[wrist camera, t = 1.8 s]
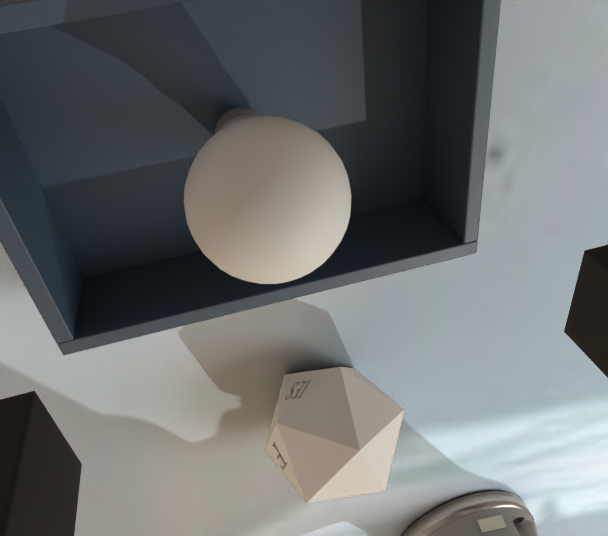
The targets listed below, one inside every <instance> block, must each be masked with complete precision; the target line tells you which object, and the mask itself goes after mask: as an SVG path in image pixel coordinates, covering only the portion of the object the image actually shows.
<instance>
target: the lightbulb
mask: <svg viewBox="0 0 608 536" xmlns="http://www.w3.org/2000/svg"><path fill="white" fill-rule="evenodd" d="M184 208H185V214H186V220H187V224H188V227H189V229H190V232H191V234H192V237H193V238H194V240H195V242H196V243H197V245H198V246H199V248H200V249H201V251H202V252H203V253H204V255H205V256H206V257H207V258H208V259H210V260H211V261H212V262H213V263H214V264H215V265H216V266H217V267H218V268H219V269H221V270H222V271H224V272H226V273H227V274H229V275H231V276H233V277H236V278H239V279H241V280H244V281H248V282H254V283H259V284H278V283H284V282H289V281H292V280H295V279H298V278H301V277H303V276H305V275H307V274H309V273H311V272H312V271H314V270H315V269H317V268H318V267H319V266H321V265H322V264H323V263H324V262H325V261H326V260H327V259H328V258H329V257H330V256H331V255H332V253H333V252H334V251H335V249H336V248H337V246H338V245H339V243H340V242H341V240H342V238H343V236H344V234H345V232H346V230H347V226H348V223H349V219H350V212H351V190H350V184H349V179H348V175H347V172H346V170H345V167H344V165H343V163H342V160H341V159H340V157H339V156H338V155H337V153H336V152H335V150H334V149H333V148H332V146H331V145H330V144H329V142H328V141H327V140H325V139H324V138H323V137H322V136H321V135H320V134H319V133H318V132H316V131H314V130H312V129H311V128H309V127H307V126H305V125H304V124H301V123H299V122H296V121H293V120H290V119H287V118H284V117H276V116H261V115H260V114H259V113H258V112H257V111H255V110H253V109H251V108H248V107H242V106H241V107H234V108H231V109H229V110H227V111H226V112H224V113H223V114H222V115H221V116H220V118H219V119H218V121H217V123H216V126H215V135H214V136H212V137H211V138H210V139H209V140H208V141H207V142H206V143H205V145H204V146H203V147H202V148H201V149H200V151H199V152H198V154H197V156H196V158H195V159H194V161H193V163H192V165H191V168H190V170H189V173H188V176H187V180H186V183H185V189H184Z"/></svg>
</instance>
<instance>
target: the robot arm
mask: <svg viewBox="0 0 608 536" xmlns="http://www.w3.org/2000/svg"><path fill="white" fill-rule="evenodd" d="M564 332H565V333H566V334H567V335H568V336H569V337H570V338H571V339H572V340H573V341H574V342H575V343H576V345H577V346H578V347H579V348H580V349H581V350H582V351H583V352H584V353H585V354H586V355H587V356H588V357H589V358H590V359H591V360H592V361H593V362H594V364H595V365H596V366H597V367H598V368H599V369H600V370H601V371H602V372H603V373H604V374H605V375H606V376H607V377H608V245H605V246H601V247H597V248H594V249H590V250H586V251H584V255H583V259H582V263H581V267H580V271H579V275H578V279H577V283H576V287H575V291H574V295H573V299H572V303H571V307H570V311H569V315H568V318H567V322H566V326H565V330H564ZM81 465H82V464H81V462H80V461H79V459H78V458H77V456H76V455H75V453H74V452H73V450H72V448H71V447H70V445H69V444H68V442H67V441H66V439H65V438H64V436H63V434H62V433H61V431H60V430H59V428H58V427H57V425H56V423H55V422H54V420H53V419H52V417H51V416H50V414H49V413H48V411H47V409H46V408H45V406H44V405H43V403H42V402H41V400H40V399H39V397H38V395H37V394H36V392H35V391H33V392H29V393H25V394H21V395H17V396H13V397H9V398H5V399H1V400H0V536H74V531H75V521H76V512H77V502H78V493H79V484H80V474H81ZM402 536H538V533H537V530H536V526H535V523H534V519H533V516H532V515H531V513H530V512H529V510H528V508H527V507H526V505H525V504H524V502H523V500H522V499H521V498H520V497H519V496H517V495H515V494H513V493H509V492H504V491H488V492H480V493H475V494H471V495H467V496H464V497H461V498H458V499H455V500H453V501H450V502H448V503H446V504H444V505H442V506H440V507H438V508H436V509H434V510H432V511H431V512H429V513H427V514H426V515H424V516H423V517H422V518H420V519H419V520H418V521H416V522H415V523H414V524H413V525H412V526H411V527H409V528H408V529H407V530H406V532H405V533H404V534H403V535H402Z"/></svg>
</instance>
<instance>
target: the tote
mask: <svg viewBox="0 0 608 536" xmlns="http://www.w3.org/2000/svg"><path fill="white" fill-rule="evenodd" d="M500 2H501V0H0V241H1V243H2V245H3V247H4V249H5V250H6V252H7V254H8V256H9V258H10V260H11V261H12V263H13V265H14V267H15V269H16V270H17V272H18V274H19V276H20V278H21V280H22V281H23V283H24V285H25V287H26V289H27V290H28V292H29V294H30V296H31V298H32V299H33V301H34V303H35V305H36V307H37V309H38V310H39V312H40V314H41V316H42V318H43V319H44V321H45V323H46V325H47V327H48V328H49V330H50V332H51V334H52V336H53V338H54V339H55V341H56V343H57V344H58V346H59V348H60V350H61V352H62V353H63V355H67V354H71V353H75V352H79V351H83V350H87V349H91V348H95V347H99V346H103V345H107V344H111V343H115V342H119V341H123V340H127V339H131V338H135V337H139V336H143V335H147V334H151V333H155V332H160V331H164V330H168V329H172V328H176V327H180V326H184V325H188V324H192V323H196V322H200V321H204V320H208V319H212V318H216V317H220V316H224V315H228V314H232V313H236V312H240V311H244V310H248V309H252V308H256V307H260V306H264V305H268V304H272V303H276V302H280V301H284V300H288V299H292V298H296V297H301V296H305V295H309V294H313V293H317V292H321V291H325V290H329V289H333V288H337V287H341V286H345V285H349V284H353V283H357V282H361V281H365V280H369V279H373V278H377V277H381V276H385V275H389V274H393V273H397V272H401V271H405V270H409V269H413V268H417V267H421V266H425V265H429V264H433V263H437V262H442V261H446V260H450V259H454V258H458V257H462V256H466V255H470V254H474V253H476V252H477V239H478V231H479V221H480V210H481V200H482V189H483V179H484V169H485V158H486V148H487V137H488V127H489V117H490V106H491V96H492V86H493V75H494V65H495V54H496V44H497V34H498V23H499V13H500ZM241 106H242V107H248V108H251V109H253V110H255V111H257V112H258V113H259V114H260V115H261V116H276V117H284V118H287V119H290V120H293V121H296V122H299V123H301V124H304V125H305V126H307V127H309V128H311V129H312V130H314V131H316V132H318V133H319V134H320V135H321V136H322V137H323V138H324V139H325V140H327V141H328V142H329V144H330V145H331V146H332V148H333V149H334V150H335V152H336V153H337V155H338V156H339V157H340V159H341V160H342V163H343V165H344V167H345V170H346V172H347V175H348V179H349V184H350V190H351V212H350V219H349V223H348V226H347V230H346V232H345V234H344V236H343V238H342V240H341V242H340V243H339V245H338V246H337V248H336V249H335V251H334V252H333V253H332V255H331V256H330V257H329V258H328V259H327V260H326V261H325V262H324V263H323V264H322V265H321V266H319V267H318V268H317V269H315V270H314V271H312V272H311V273H309V274H307V275H305V276H303V277H301V278H298V279H295V280H292V281H289V282H284V283H278V284H259V283H254V282H248V281H244V280H241V279H239V278H236V277H233V276H231V275H229V274H227V273H226V272H224V271H222V270H221V269H219V268H218V267H217V266H216V265H215V264H214V263H213V262H212V261H211V260H210V259H208V258H207V257H206V256H205V255H204V253H203V252H202V251H201V249H200V248H199V246H198V245H197V243H196V242H195V240H194V238H193V237H192V234H191V232H190V229H189V227H188V224H187V220H186V214H185V208H184V189H185V183H186V180H187V176H188V173H189V170H190V168H191V165H192V163H193V161H194V159H195V158H196V156H197V154H198V152H199V151H200V149H201V148H202V147H203V146H204V145H205V143H206V142H207V141H208V140H209V139H210V138H211V137H212V136H214V135H215V126H216V123H217V121H218V119H219V118H220V116H221V115H222V114H223V113H224V112H226V111H227V110H229V109H231V108H234V107H241Z"/></svg>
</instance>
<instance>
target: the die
mask: <svg viewBox="0 0 608 536" xmlns="http://www.w3.org/2000/svg"><path fill="white" fill-rule="evenodd" d="M403 413H404V409H403V408H402V407H401V406H400V405H399V404H397V403H396V402H395V401H394V400H392V399H391V398H390V397H389V396H388V395H386V394H385V393H384V392H383V391H382V390H380V389H379V388H378V387H377V386H375V385H374V384H373V383H372V382H371V381H369V380H368V379H367V378H366V377H365V376H363V375H362V374H361V373H360V372H358V371H357V370H356V369H355V368H347V367H335V368H328V369H321V370H314V371H306V372H299V373H292V374H285V375H284V378H283V381H282V385H281V389H280V393H279V397H278V402H277V404H276V408H275V412H274V416H273V419H272V423H271V427H270V431H269V435H268V439H267V442H266V446H265V451H266V452H267V454H268V455H269V456H270V457H271V459H272V460H273V461H274V463H275V464H276V465H277V466H278V468H279V469H280V470H281V472H282V473H283V474H284V475H285V477H286V478H287V479H288V481H289V482H290V483H291V484H292V486H293V487H294V488H295V489H296V491H297V492H298V493H299V495H300V496H301V497H302V498H303V500H304V501H305V502H306V503H312V502H318V501H325V500H331V499H337V498H344V497H350V496H357V495H363V494H370V493H376V492H382V491H386V487H387V482H388V478H389V474H390V469H391V465H392V461H393V456H394V452H395V448H396V443H397V439H398V435H399V430H400V426H401V422H402V417H403Z"/></svg>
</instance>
